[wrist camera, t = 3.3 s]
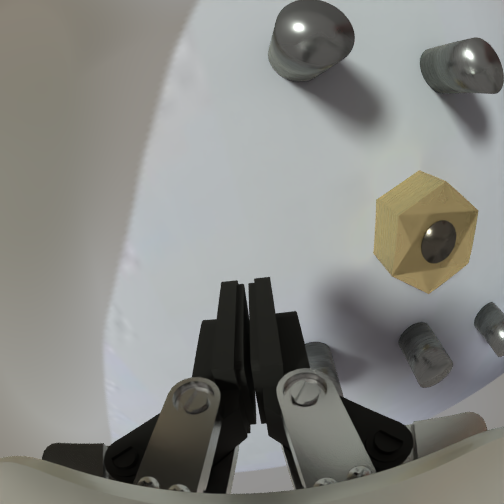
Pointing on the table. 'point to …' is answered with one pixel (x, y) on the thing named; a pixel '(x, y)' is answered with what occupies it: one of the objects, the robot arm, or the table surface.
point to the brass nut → (424, 231)
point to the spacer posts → (438, 78)
